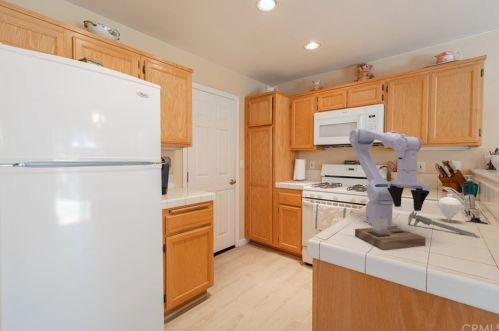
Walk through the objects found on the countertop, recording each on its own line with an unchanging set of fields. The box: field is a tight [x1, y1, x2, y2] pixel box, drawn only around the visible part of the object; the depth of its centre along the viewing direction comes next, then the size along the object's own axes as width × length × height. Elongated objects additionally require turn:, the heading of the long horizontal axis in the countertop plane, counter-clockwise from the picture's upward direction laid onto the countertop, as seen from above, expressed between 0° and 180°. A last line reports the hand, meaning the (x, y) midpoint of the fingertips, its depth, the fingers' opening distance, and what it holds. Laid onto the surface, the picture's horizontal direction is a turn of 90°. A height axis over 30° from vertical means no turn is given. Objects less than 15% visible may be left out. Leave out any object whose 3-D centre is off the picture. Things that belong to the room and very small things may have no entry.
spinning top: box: [437, 193, 463, 223], centre depth 95 cm, size 8×8×12 cm
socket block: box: [354, 226, 427, 251], centre depth 73 cm, size 12×16×2 cm
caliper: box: [407, 210, 481, 239], centre depth 83 cm, size 20×1×6 cm, turn 47°
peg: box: [371, 216, 388, 237], centre depth 72 cm, size 3×3×8 cm
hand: (407, 208), depth 78 cm, fingers open, 7 cm apart
